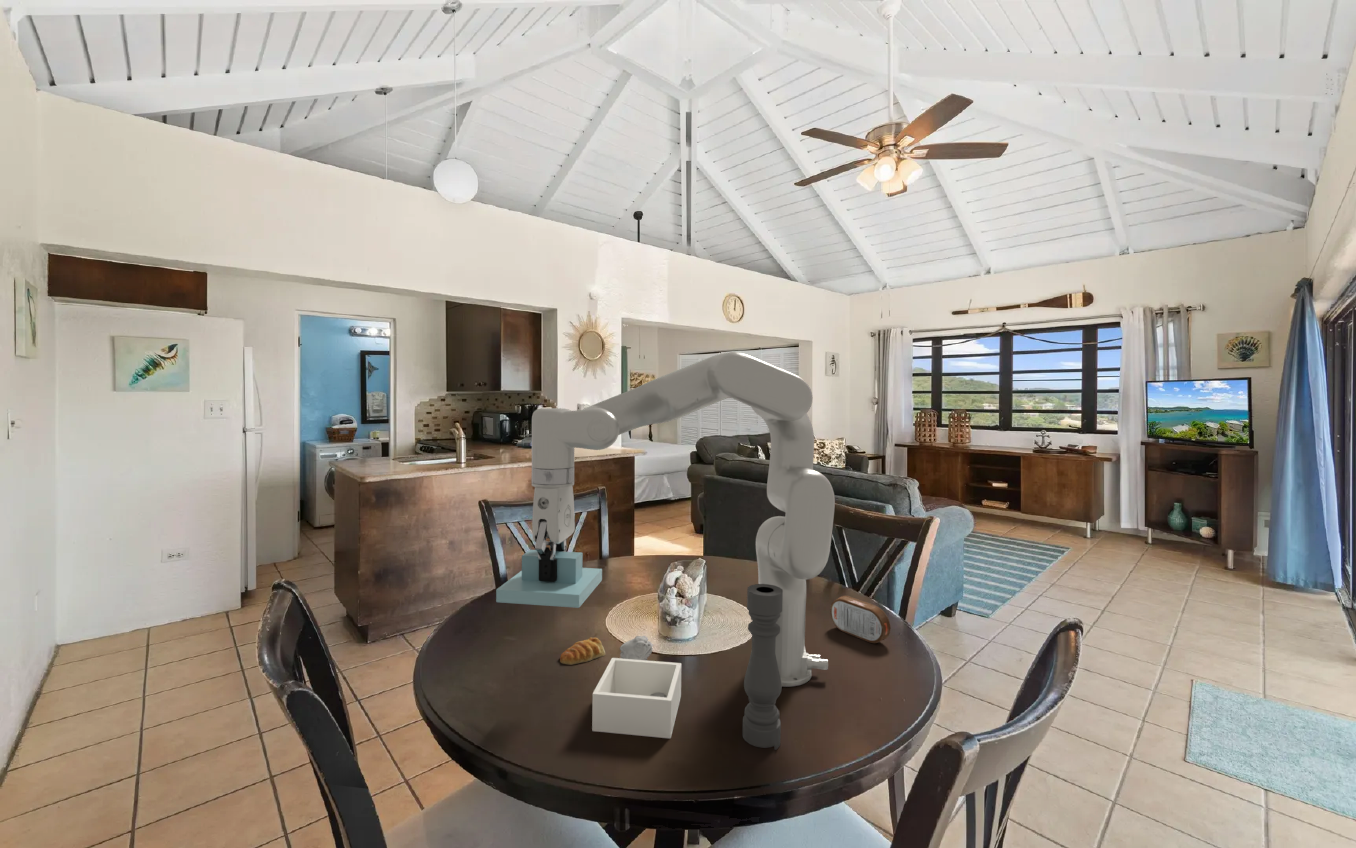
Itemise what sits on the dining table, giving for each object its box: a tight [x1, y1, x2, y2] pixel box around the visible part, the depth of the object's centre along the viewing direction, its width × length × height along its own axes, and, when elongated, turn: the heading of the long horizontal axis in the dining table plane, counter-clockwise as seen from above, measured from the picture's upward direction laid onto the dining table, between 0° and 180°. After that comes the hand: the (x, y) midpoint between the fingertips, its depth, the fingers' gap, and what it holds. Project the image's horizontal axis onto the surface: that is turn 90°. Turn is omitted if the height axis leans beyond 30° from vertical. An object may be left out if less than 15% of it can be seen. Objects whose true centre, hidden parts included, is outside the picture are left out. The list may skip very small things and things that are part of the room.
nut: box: [650, 692, 667, 698], centre depth 101 cm, size 3×3×2 cm
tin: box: [829, 595, 891, 644], centre depth 135 cm, size 15×3×8 cm, turn 38°
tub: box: [591, 657, 682, 740], centre depth 100 cm, size 13×13×7 cm
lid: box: [495, 549, 603, 609], centre depth 104 cm, size 15×15×7 cm
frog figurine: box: [619, 635, 654, 661], centre depth 116 cm, size 6×7×7 cm
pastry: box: [559, 637, 606, 666], centre depth 121 cm, size 9×7×4 cm
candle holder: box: [741, 583, 783, 751], centre depth 93 cm, size 6×6×25 cm
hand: (552, 576), depth 104 cm, fingers closed on lid, 4 cm apart
